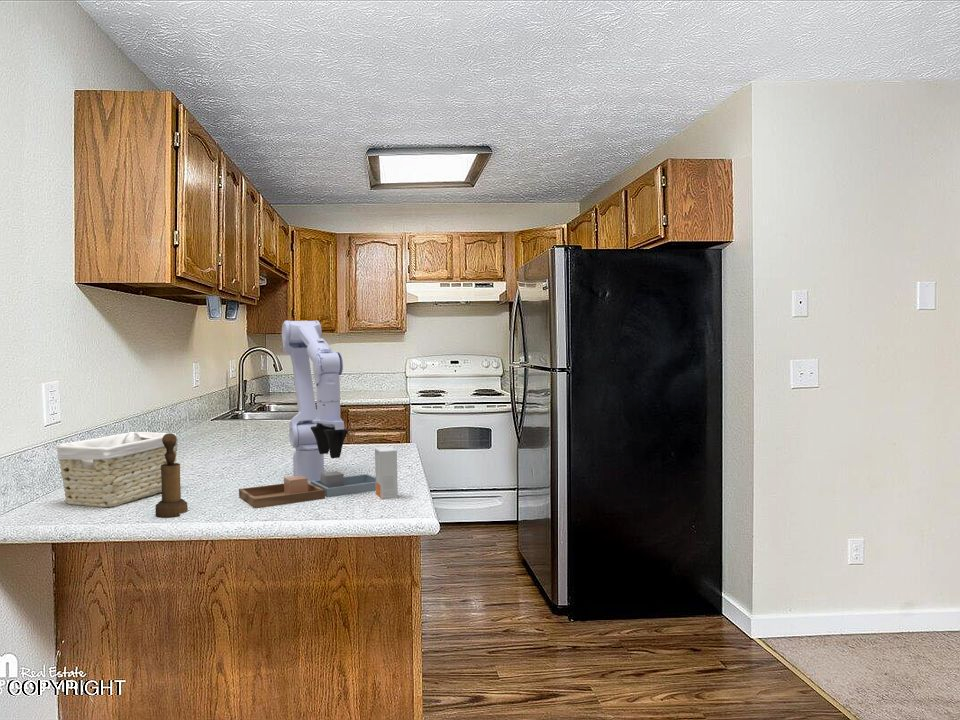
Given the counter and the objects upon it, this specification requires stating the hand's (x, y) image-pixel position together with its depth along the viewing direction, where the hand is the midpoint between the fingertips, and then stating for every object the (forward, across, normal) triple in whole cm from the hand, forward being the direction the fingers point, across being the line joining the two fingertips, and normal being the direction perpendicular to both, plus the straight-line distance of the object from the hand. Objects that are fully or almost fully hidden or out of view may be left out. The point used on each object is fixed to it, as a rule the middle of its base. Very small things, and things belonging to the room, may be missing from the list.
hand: (329, 455), depth 180 cm
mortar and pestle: (+10, -1, -37) cm, 38 cm away
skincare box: (+10, +13, +9) cm, 19 cm away
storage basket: (+10, -28, -44) cm, 53 cm away
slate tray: (+9, 0, +5) cm, 11 cm away
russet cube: (+9, 0, -9) cm, 12 cm away
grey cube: (+9, 0, 0) cm, 9 cm away
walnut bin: (+9, 0, -12) cm, 15 cm away
